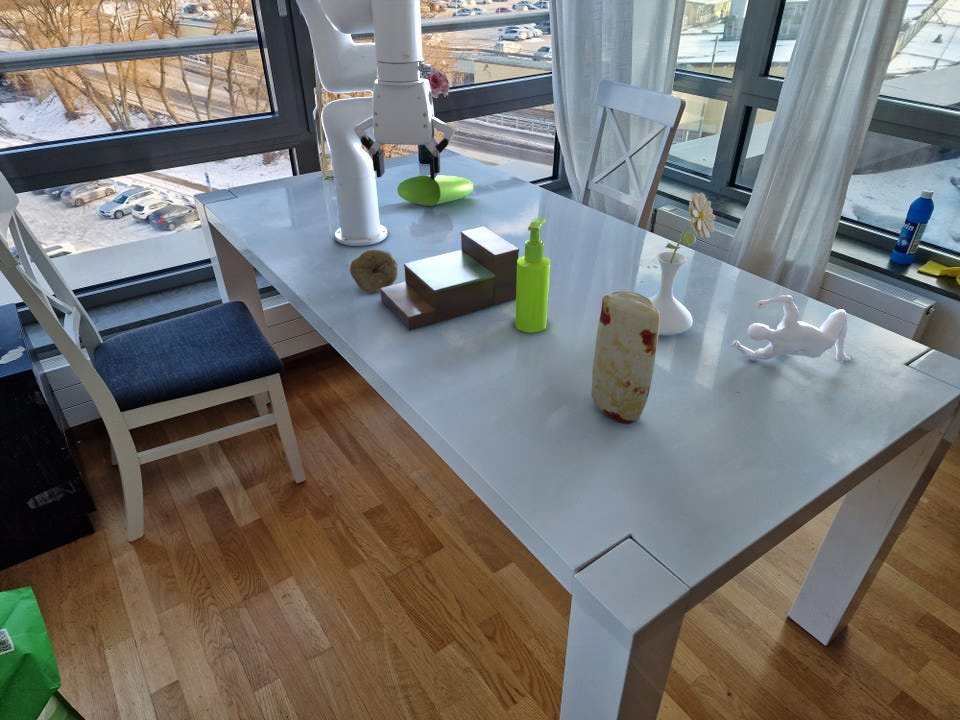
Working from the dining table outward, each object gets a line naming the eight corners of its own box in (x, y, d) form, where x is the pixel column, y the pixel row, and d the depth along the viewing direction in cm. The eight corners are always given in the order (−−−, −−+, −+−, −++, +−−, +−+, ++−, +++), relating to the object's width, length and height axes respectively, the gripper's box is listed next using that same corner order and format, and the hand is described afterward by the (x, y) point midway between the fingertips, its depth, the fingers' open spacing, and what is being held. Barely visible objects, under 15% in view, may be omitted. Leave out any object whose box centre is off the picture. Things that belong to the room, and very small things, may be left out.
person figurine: (818, 278, 110) (762, 289, 100) (884, 322, 103) (830, 339, 93) (778, 336, 118) (722, 352, 108) (835, 380, 111) (781, 402, 101)
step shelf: (381, 301, 127) (375, 250, 121) (483, 274, 137) (483, 226, 131) (409, 331, 117) (405, 277, 111) (517, 299, 127) (519, 248, 121)
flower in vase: (656, 347, 112) (680, 212, 98) (616, 319, 120) (633, 190, 107) (710, 329, 117) (741, 198, 103) (668, 303, 125) (692, 179, 112)
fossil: (342, 262, 128) (382, 240, 132) (340, 271, 132) (379, 249, 136) (368, 298, 128) (407, 274, 132) (365, 305, 132) (403, 282, 136)
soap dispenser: (551, 317, 121) (557, 217, 110) (542, 335, 116) (548, 232, 105) (521, 312, 123) (525, 213, 112) (511, 329, 117) (514, 228, 106)
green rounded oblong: (415, 179, 162) (482, 172, 171) (396, 175, 172) (460, 169, 181) (417, 210, 165) (483, 202, 174) (398, 205, 174) (461, 197, 184)
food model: (578, 406, 98) (590, 292, 87) (606, 389, 102) (620, 277, 90) (628, 437, 92) (648, 318, 81) (656, 418, 95) (679, 302, 84)
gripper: (456, 69, 105) (458, 171, 115) (354, 67, 107) (365, 168, 116) (449, 77, 99) (452, 184, 109) (342, 75, 101) (354, 181, 110)
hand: (407, 176), depth 113 cm, fingers open, 9 cm apart
